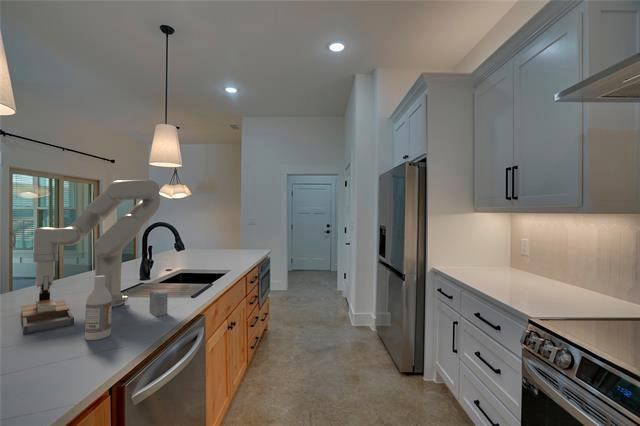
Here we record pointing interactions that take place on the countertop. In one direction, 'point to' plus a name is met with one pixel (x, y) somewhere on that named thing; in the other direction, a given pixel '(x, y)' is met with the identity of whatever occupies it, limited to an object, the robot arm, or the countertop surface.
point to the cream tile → (46, 307)
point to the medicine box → (158, 303)
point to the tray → (48, 323)
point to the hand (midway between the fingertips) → (44, 302)
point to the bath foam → (98, 311)
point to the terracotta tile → (43, 302)
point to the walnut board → (33, 314)
